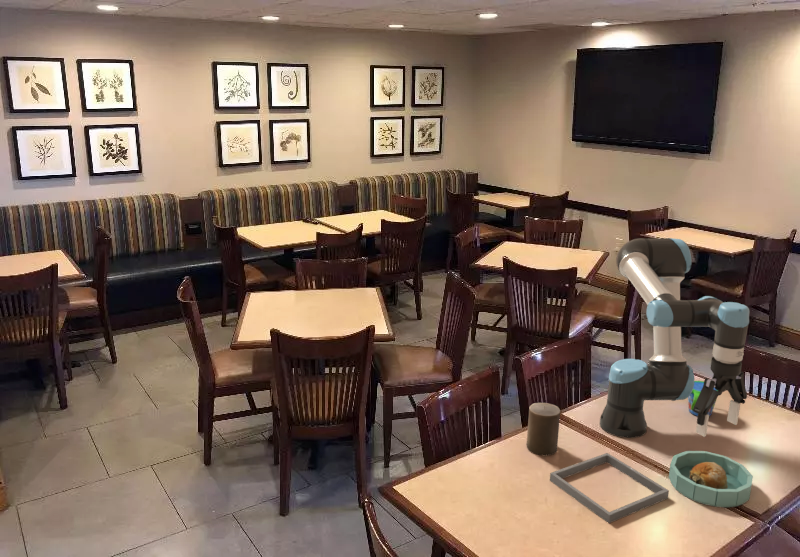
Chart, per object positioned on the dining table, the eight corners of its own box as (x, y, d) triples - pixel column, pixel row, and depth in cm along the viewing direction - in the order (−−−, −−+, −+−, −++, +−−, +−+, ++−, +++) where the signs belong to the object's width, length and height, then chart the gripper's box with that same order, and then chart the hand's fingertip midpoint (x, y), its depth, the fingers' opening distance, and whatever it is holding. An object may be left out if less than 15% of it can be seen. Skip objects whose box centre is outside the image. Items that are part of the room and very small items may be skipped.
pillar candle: (544, 459, 206) (548, 415, 202) (520, 446, 213) (523, 404, 209) (563, 448, 212) (567, 406, 208) (538, 437, 219) (541, 395, 215)
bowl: (653, 477, 196) (655, 462, 194) (700, 458, 206) (702, 444, 204) (717, 516, 178) (720, 499, 177) (765, 493, 188) (768, 478, 187)
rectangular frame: (549, 480, 194) (550, 472, 194) (606, 460, 205) (607, 452, 205) (608, 523, 175) (609, 515, 174) (667, 498, 186) (668, 490, 185)
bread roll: (722, 505, 187) (739, 484, 185) (689, 488, 188) (705, 466, 185) (714, 486, 197) (729, 465, 194) (682, 469, 197) (697, 449, 195)
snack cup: (694, 401, 244) (697, 375, 241) (723, 410, 237) (727, 384, 234) (675, 415, 234) (678, 388, 231) (706, 425, 226) (709, 398, 224)
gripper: (709, 373, 172) (699, 445, 178) (767, 354, 184) (756, 423, 190) (684, 363, 178) (675, 433, 184) (743, 345, 190) (732, 412, 196)
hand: (716, 428), depth 187 cm, fingers open, 13 cm apart
